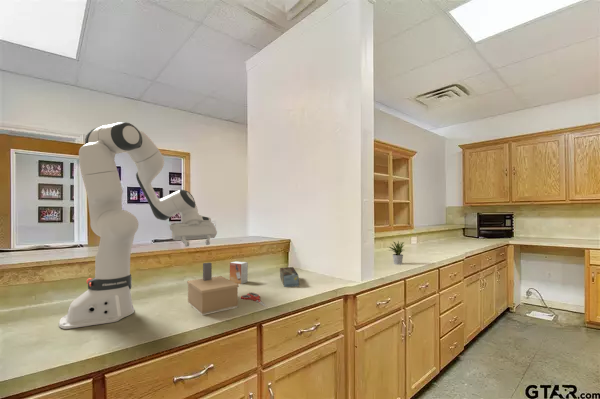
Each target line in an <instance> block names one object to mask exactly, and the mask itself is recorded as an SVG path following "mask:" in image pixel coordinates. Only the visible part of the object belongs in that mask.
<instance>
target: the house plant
mask: <svg viewBox="0 0 600 399" xmlns="http://www.w3.org/2000/svg"><path fill="white" fill-rule="evenodd" d="M393 243H394V245H393V244H391V246H392V247H391V246H388V251H389V252H390V251H391V252H393V254H392V259H393V264H395V265H402V264H403V257H404V254H402V252H404V248H403V247H404V246H405V245H406V244H405V241H401V242H399V240H397V243H396V242H395V241H393Z"/></svg>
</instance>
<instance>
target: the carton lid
mask: <svg viewBox="0 0 600 399" xmlns="http://www.w3.org/2000/svg"><path fill="white" fill-rule="evenodd" d="M212 268H213V265H212V262H203V263H202V278H197V279H191V280H187V281H186V282H187V285H188V284H189V285H190V286H192V287H193V288H195V289H196V290H198V291H199V292H200V293H207V292H213V291H219V290H224V289H230V288H236V287H238V288H239V287H240V286H239V285H240V284H238V283H235V282H232V281H230V279H228V278H226V277H224V276H221V275H219V276H218V275H217V276H212Z"/></svg>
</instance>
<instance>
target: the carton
mask: <svg viewBox="0 0 600 399" xmlns="http://www.w3.org/2000/svg"><path fill="white" fill-rule="evenodd" d="M238 288H239V287H236V288H230V289H224V290H219V291H213V292H207V293H200V292H199V291H198V290H196V289H195V288H193V287H192V286H190V285H189V284H188V283H187V291H188V292H187V294H188V295H187V302H188V304H189V305H190V306H191V307H193V308H194V310H196V311H197V312H198V313H199V314H200V315H201V316H205V315H210V314H213V313H218V312H222V311H224V312H225V311H227V310H228V311H229V310H232V309H237V308H239V306H238V300H239V299H238V295H239V294H238V293H239V290H238Z"/></svg>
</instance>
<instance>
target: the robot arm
mask: <svg viewBox="0 0 600 399" xmlns="http://www.w3.org/2000/svg"><path fill="white" fill-rule="evenodd" d="M122 153H126V154H128V155H129V158H131V160H132V161H133V163H134V164H135V165H136V166H135V167H136V168H137V171H136V173H135V176H136V177H135V178H136V180H137V183H138V185H139V187H140V189H141V191H142V193H143V195H144V196H145V199H146V201H147V203H148V204H149V207H150V209H151V211H152V214H153V216H154V217H155V218H156V219H157V220H161V221H167V220H168V219H171V217H173V216H175V215H178V214H179V216H180V221H181V222H172V223H171V224H170V225H169V229H170V231H171V239H172V240H173V241H180V242H182V244H184V246H185V248H186V247H190V241H191V240H203V239H206V240H205V245H206V246H209V245H210V244H211V241H210V240H211V239H214V238H216V237H217V234H218V231H217V228H216V226H215V224H214V223H213V222H212V219H211V217H210V216H209V217H208V216H203V215H200V213H199V209H198V207H197V204H196V201H195V198H194V196H193V195H192V194H191V193H190V192H189V191H187V190H185V189H179V190H176V191H174V192H172V193H170V194H168V195H166V196H163V197H161V198H159V197H158V196H157V194H156V192H155V190H154V188H153V184H152V182H153V181H154V180H155V178H156V177H157V176H158V175H159V174H160V173H161V172H162V170H163V168H164V165H165V159H164V156H163V154H162V152H161V151H160V149H159V148H158V146H157V145H156V144H155V143H154V141H153V140H152V139H151V138H150V137H149V136H148V135H147V133H145V132H144V131H142V130H139V129H138V128H137V127H136V126H135V125H134V124H132V123H130V122H127V121H126V122H125V121H120V122H116V123H111V124H104V125H101V126H99V127H95V128H93V129H91V130H90V131H88V132H87V134H86V135H85V138H84V144H83V145H82V146H81V147H80V148H79V150H78V161H79V162H78V163H79V169H80V173H81V176H82V180H83V184H84V189H85V193H86V197H87V202H88V213H89V218H90V219H89V220H90V229H91V231H92V232H93V233H94V234H95V235H96V236H98V237H100V238H99V245H98V249H97V253H96V254H95V258H94V259H95V260H94V262H95V264H94V265H95V266H94V270H95V273H94V278H91V277H89V278H87V279H86V284H87V290H86V291H84V292H83V293H82V294H80V295H79V296H77V297H76V298H75V299H73V301H71V303H70V304H69V307H68V310H67V314H66V315H64V316H62V317H61V318H60V319H59V323H58V326H59V328H61V329H64V330H68V329H76V328H81V327H89V326H95V325H102V324H110V323H115V322H119V321H120V320H121V319H123V318H125V317H128V316H130V315H132V314H134V312H135V308H134V305H133V299H132V292H131V290H132V286H133V285H132V284H133V283H132V281H133V280H132V274H131V253H132V248H133V243H134V239H135V235H136V233H137V231H138V229H139V221H138V218H137V217H136V216H135V215H134V214H133V213H131V212H129V211H128V210H124V209H123V204H122V202H123V200H122V199H123V198H122V195H123V187H122V184H121V180H120V175H119V172H118V168H117V165H116V162H115V157H116V154H118V155H119V154H122ZM189 240H190V241H189Z"/></svg>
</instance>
